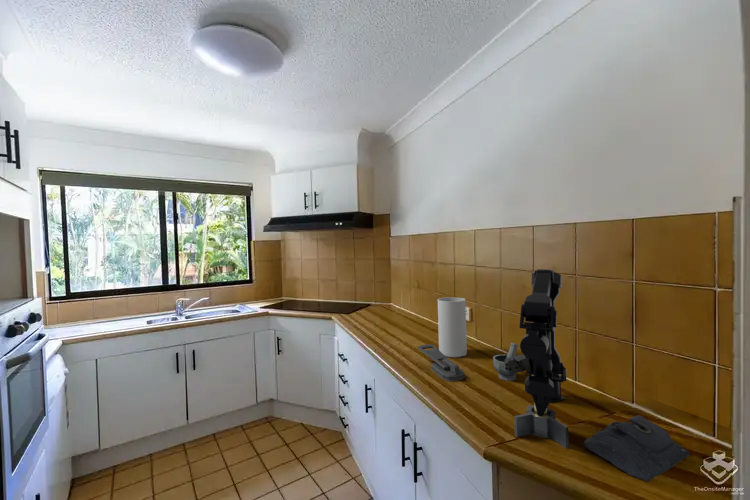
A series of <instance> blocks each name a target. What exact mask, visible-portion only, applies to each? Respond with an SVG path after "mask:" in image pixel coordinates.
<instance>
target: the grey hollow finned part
mask: <svg viewBox="0 0 750 500" xmlns="http://www.w3.org/2000/svg"><path fill="white" fill-rule="evenodd" d="M525 409H526V410H525V413H523V414H518V415H514V417H513V418H514V419H513V420H514V436H515V437H516V438H520V437H523V436H528V435H533V436H535V437H539V438H543V439H552V440H553V441H554V442H556V443H558V444H559V445H561V446H562V447H563V448H565V449H569V448H570V447H569V445H570V443H569V441H570V439H569V426H568V425H566V424H564V423H562V422H561V421H559V420H557V419H556V418H557V416H556V415H557V414H556V411H554V410H553V409H551V408H550V407H549V406H548V407H547V416H538V415H536V414H535V413H534V404H532V405H528V406H527V405H526V408H525Z"/></svg>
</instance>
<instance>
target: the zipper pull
mask: <svg viewBox="0 0 750 500" xmlns="http://www.w3.org/2000/svg"><path fill="white" fill-rule="evenodd" d="M417 349H418V350H419V351H420V352H422V354H424V355H425V356H427V357H428V358H430V359H431V360H432V361H434V362H433V363H432V364H431V371H433V372H434V373H435V374H436V375H437V376H438V377H439V378H440V379H442V380H443V381H447V382H458V381H462V380H463V379H465V378H466V377H465V371H464V369H463V368H460V366H459V364H457V363H455V362H453V361H452V360H450V359H449V357H446V356H445V355H444V354H443V353H441V352H440V351H439V348H437V347H436V346H435V344H432V343H431V344H429V343H428V344H423V345H419V346H417Z"/></svg>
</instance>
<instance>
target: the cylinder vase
mask: <svg viewBox="0 0 750 500" xmlns="http://www.w3.org/2000/svg"><path fill="white" fill-rule="evenodd" d="M437 318H438V319H437V323H438V324H437V325H438V326H437V328H438V350H439V351H440V352H441V353H443V354H444V355H445V356H446V357H447V358H462V356H463V357H465V356H466V355H467V354H468V342H467V340H468V339H467V338H468V337H467V308H466V298H462V297H451V296H450V297H438V298H437Z"/></svg>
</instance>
